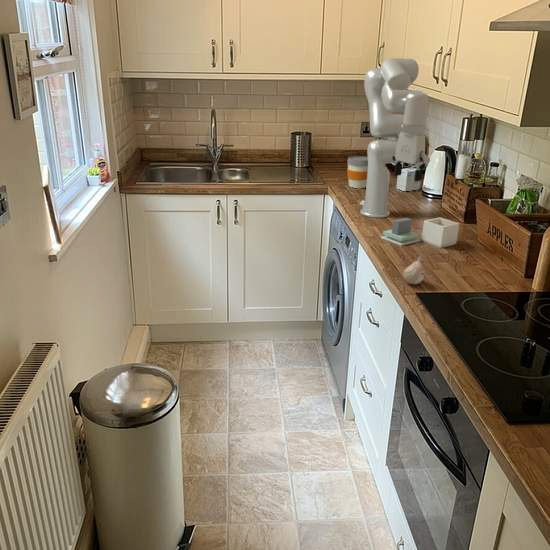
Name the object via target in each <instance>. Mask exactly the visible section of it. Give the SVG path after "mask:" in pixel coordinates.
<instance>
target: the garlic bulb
mask: <svg viewBox="0 0 550 550" xmlns="http://www.w3.org/2000/svg"><path fill="white" fill-rule="evenodd" d="M422 261H423V257H421V256H420V255H419V256H418V258H417V260H415V261H413V263H412V262H411V264H410V265H409V266H407V267H406V268H404V270H403V275H402V276H403V278H404V280H405V281H406V283H408V284H409V285H418V284H420V283H422V281H423V279H424V276H425V272H424V267H423V265H422V263H421V262H422Z"/></svg>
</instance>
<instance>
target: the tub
mask: <svg viewBox="0 0 550 550" xmlns="http://www.w3.org/2000/svg"><path fill="white" fill-rule="evenodd" d="M459 228H460V222H457V221H454V220H450V219H446V218H443V217H435V218H431V219H426V220H424V221H423V226H422V233H421V239H420V242H422V243H425V244H428V245H430V246H434V247H436V248H439V249H442V248H446V247H451V246H454V245H457V242H458V236H459V235H458V234H459Z"/></svg>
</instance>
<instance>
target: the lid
mask: <svg viewBox="0 0 550 550" xmlns="http://www.w3.org/2000/svg"><path fill="white" fill-rule="evenodd" d="M412 221H413V219H412V218H409V217H404V218H398V219H394V220H392V227H391V228H392V229H387V230H382V236H388V238H391V239H394V240H396V241H399V242H404V241H408V240H412V239H414V238H417V239H418V238H419V237H420V234H419V233H417V232H414V231H411V229H412V228H411V227H412Z"/></svg>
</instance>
